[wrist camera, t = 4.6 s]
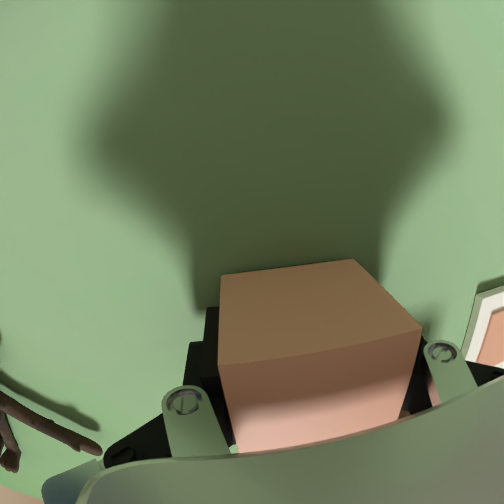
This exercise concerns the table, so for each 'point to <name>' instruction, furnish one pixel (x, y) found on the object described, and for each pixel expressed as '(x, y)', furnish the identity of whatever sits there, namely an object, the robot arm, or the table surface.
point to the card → (486, 329)
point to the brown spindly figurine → (12, 454)
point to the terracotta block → (311, 353)
